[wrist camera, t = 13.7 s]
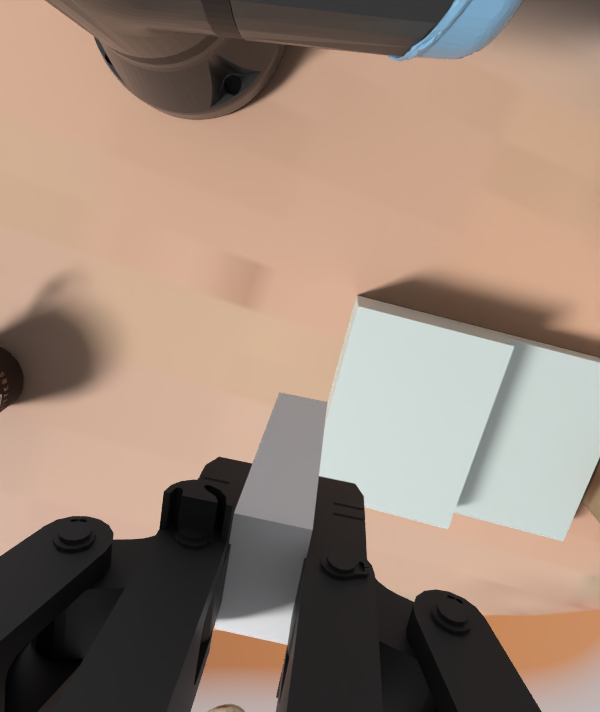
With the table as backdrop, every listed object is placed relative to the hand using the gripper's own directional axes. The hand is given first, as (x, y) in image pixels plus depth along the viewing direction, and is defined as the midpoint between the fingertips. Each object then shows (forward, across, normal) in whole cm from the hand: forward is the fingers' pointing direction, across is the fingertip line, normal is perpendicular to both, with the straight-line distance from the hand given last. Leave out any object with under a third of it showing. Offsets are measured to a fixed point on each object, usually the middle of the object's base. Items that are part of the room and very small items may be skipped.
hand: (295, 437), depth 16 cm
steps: (+30, +14, -9) cm, 34 cm away
